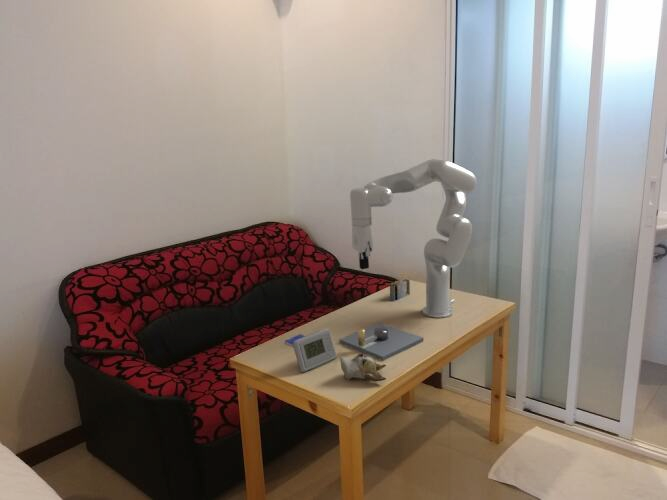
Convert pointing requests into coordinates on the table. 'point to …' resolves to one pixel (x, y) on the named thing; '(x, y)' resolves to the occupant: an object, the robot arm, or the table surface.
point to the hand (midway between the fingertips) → (364, 268)
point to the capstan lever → (378, 335)
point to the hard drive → (293, 339)
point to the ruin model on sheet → (399, 289)
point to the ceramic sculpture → (361, 368)
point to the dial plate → (383, 342)
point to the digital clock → (314, 350)
